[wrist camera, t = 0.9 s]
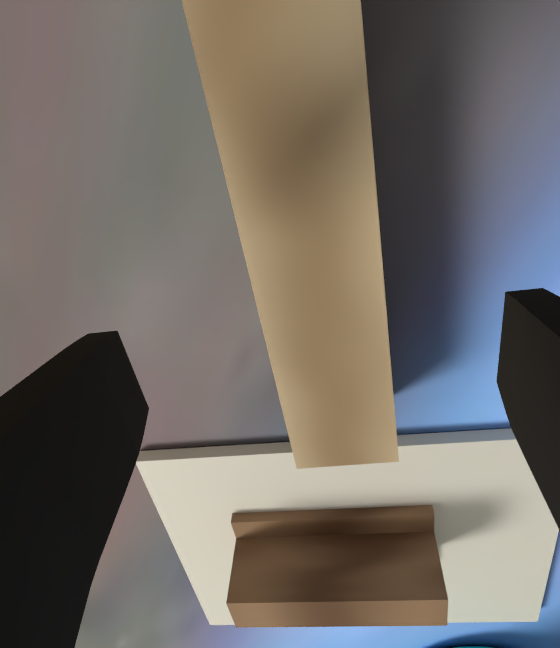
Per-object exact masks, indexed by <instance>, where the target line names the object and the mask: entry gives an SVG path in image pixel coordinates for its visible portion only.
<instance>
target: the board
mask: <svg viewBox="0 0 560 648" xmlns="http://www.w3.org/2000/svg"><path fill="white" fill-rule="evenodd" d="M397 444H398V456H399V462H387V463H373V464H359V465H345V466H330V467H316V468H302V469H297V468H296V464H295V459H294V455H293V451H292V447H291V443H290V442H279V443H263V444H246V445H230V446H214V447H198V448H181V449H165V450H149V451H140V452H139V455H138V458H137V461H136V465H137V467H138V469H139V471H140V473H141V475H142V478H143V480H144V482H145V484H146V486H147V489H148V491H149V493H150V495H151V497H152V499H153V502H154V504H155V506H156V508H157V510H158V512H159V515H160V517H161V519H162V521H163V523H164V526H165V528H166V530H167V532H168V534H169V536H170V539H171V541H172V543H173V545H174V547H175V549H176V552H177V554H178V556H179V558H180V560H181V562H182V565H183V567H184V569H185V571H186V573H187V576H188V578H189V580H190V582H191V584H192V586H193V589H194V591H195V593H196V595H197V597H198V599H199V602H200V604H201V606H202V608H203V610H204V612H205V615H206V617H207V619H208V621H209V623H210V625H235V624H234V621H233V619H232V616H231V614H230V612H229V609H228V607H227V604H226V601H227V595H228V588H229V582H230V575H231V569H232V562H233V555H234V549H235V542H236V537H235V534H234V531H233V528H232V525H231V518H232V513H249V512H273V511H296V510H320V509H344V508H367V507H391V506H415V505H432V506H433V511H434V533H435V538H436V543H437V548H438V553H439V557H440V562H441V567H442V572H443V577H444V582H445V586H446V591H447V596H448V617H447V623H450V622H538V618H539V614H540V609H541V605H542V601H543V597H544V592H545V588H546V584H547V579H548V575H549V571H550V567H551V562H552V558H553V554H554V549H555V545H556V541H557V537H558V532H559V529H558V526H557V524H556V522H555V520H554V518H553V516H552V514H551V512H550V510H549V508H548V506H547V503H546V501H545V499H544V497H543V495H542V493H541V491H540V489H539V487H538V485H537V483H536V480H535V478H534V476H533V474H532V472H531V470H530V468H529V466H528V464H527V461H526V459H525V457H524V455H523V453H522V451H521V449H520V447H519V444H518V442H517V440H516V438H515V436H514V434H513V431H512V429H511V428H506V429H490V430H473V431H457V432H441V433H425V434H408V435H397Z"/></svg>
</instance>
